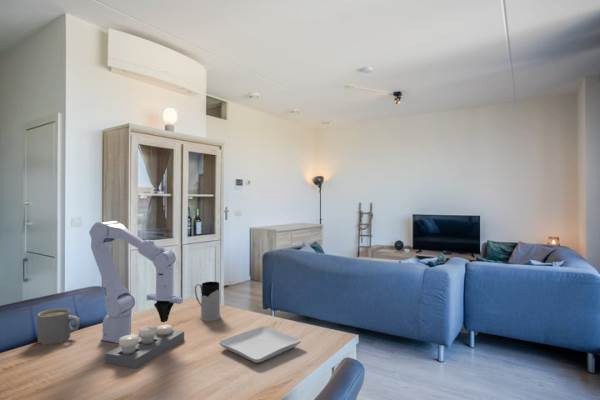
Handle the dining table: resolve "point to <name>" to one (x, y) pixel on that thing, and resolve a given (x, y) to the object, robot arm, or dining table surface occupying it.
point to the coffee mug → (55, 325)
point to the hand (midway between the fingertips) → (164, 321)
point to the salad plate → (260, 343)
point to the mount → (144, 350)
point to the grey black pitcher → (209, 301)
